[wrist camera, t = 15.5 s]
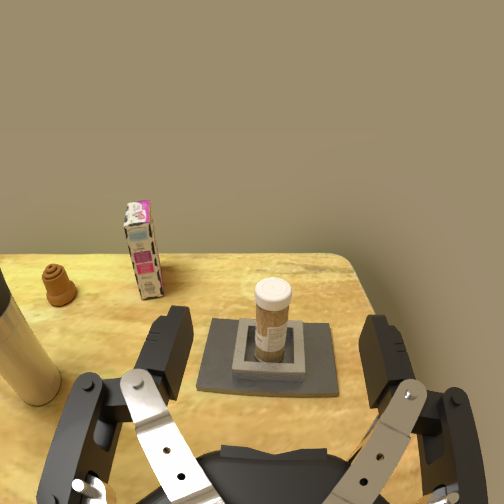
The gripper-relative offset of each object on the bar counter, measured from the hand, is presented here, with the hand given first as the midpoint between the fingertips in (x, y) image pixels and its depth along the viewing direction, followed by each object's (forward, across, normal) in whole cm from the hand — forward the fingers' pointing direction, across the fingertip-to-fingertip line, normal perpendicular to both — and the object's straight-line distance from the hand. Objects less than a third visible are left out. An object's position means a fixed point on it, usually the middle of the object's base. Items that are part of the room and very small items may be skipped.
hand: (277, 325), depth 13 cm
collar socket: (+19, 0, +28) cm, 34 cm away
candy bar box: (+36, +25, +28) cm, 52 cm away
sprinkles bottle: (+19, 0, +27) cm, 33 cm away
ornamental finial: (+28, +45, +28) cm, 60 cm away
